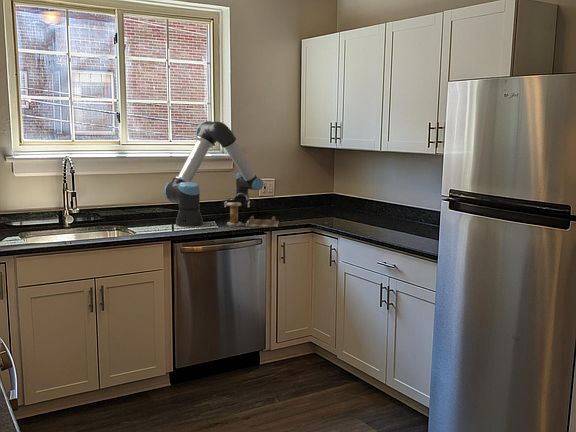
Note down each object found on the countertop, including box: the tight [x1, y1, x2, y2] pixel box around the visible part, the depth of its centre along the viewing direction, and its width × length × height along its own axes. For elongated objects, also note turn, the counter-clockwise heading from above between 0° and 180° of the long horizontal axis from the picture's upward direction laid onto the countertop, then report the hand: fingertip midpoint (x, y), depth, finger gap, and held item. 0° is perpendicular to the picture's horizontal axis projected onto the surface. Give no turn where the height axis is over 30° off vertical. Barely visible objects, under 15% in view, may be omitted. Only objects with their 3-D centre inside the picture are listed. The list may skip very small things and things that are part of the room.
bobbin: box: [226, 202, 242, 227], centre depth 337 cm, size 8×8×12 cm
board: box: [245, 215, 280, 228], centre depth 340 cm, size 18×14×4 cm
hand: (236, 205), depth 347 cm, fingers open, 13 cm apart
